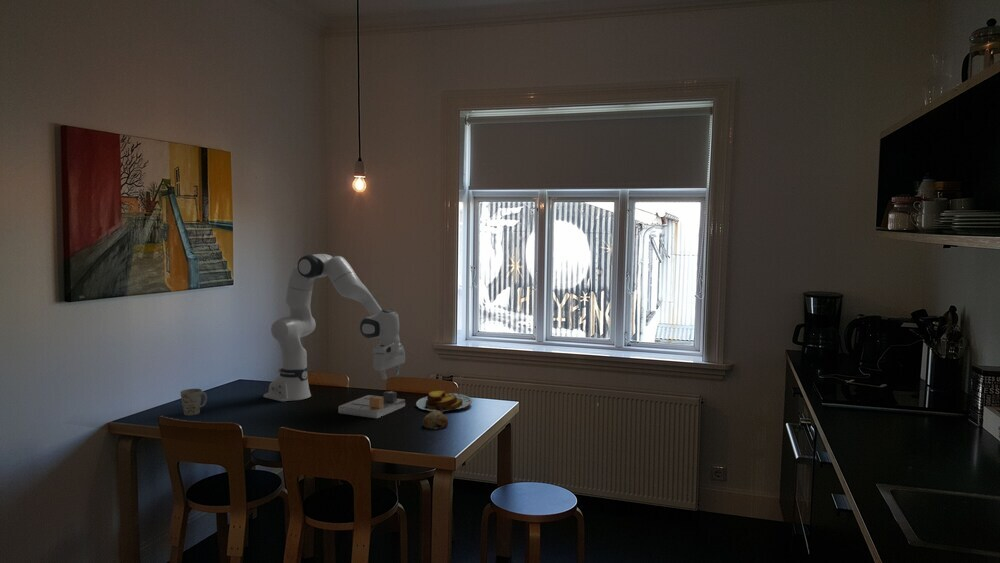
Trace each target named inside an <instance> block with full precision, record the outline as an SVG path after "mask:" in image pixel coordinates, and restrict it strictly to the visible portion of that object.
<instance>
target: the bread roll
mask: <svg viewBox="0 0 1000 563" xmlns="http://www.w3.org/2000/svg"><path fill="white" fill-rule="evenodd" d="M448 424H449V419H448V417H447V416H446V414H444V413H443V411H441V410H440V411H429V412H428V413H427V414H426V415H425V416H424V417H423V420H422V425H423V426H424V428H426V429H429V428H430V430H438V429H439V428H441V429H444V427H445V428H447V426H448Z"/></svg>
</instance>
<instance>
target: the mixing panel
mask: <svg viewBox="0 0 1000 563" xmlns="http://www.w3.org/2000/svg"><path fill="white" fill-rule="evenodd" d="M372 396H374V395H372V394H371V395H370V394H367V395H364V396H362V397H359V398H357V399H353V400H352V401H348V402H346V403H343V404H341V405H338V408H337V409H338V414H341V415H349V416H350V415H351V416H356V417H364V418H372V419H379V418H382V417H383V416H386V415H388V414H391V413H393V412H395V411H398V410H400V409H402V408H403V407H405V406H406V399H403V398H397V401H396V402H393V403H392V402H384V401H383V407H380V408H376V407H370V404H369V398H370V397H372ZM378 396H379V395H378ZM379 397H382V396H379ZM381 416H382V417H381Z"/></svg>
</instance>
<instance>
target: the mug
mask: <svg viewBox="0 0 1000 563" xmlns="http://www.w3.org/2000/svg"><path fill="white" fill-rule="evenodd" d="M202 396H203V397H204V401H203V403H202ZM180 399H181V404H182V409H183V414H184V416H196V415H199V414H200V413H201V412H200V411H201V408H203V407H204V406H206V404H207V401H208V396H207V393H206V392H205V391H203V390H202V389H200V388H187V389H183V390H181V391H180ZM201 403H202V404H201Z"/></svg>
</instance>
